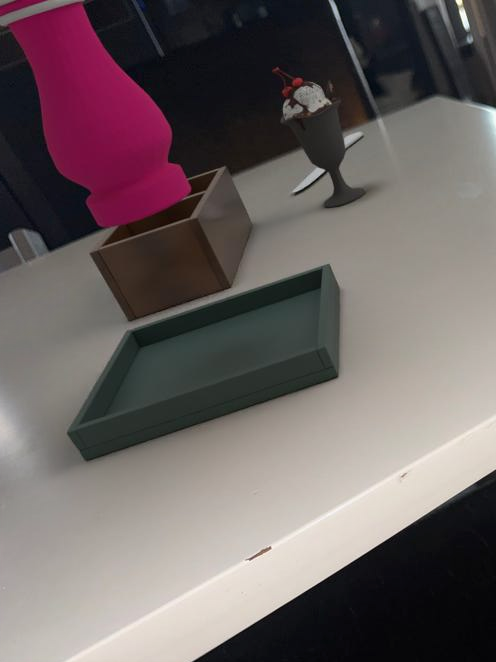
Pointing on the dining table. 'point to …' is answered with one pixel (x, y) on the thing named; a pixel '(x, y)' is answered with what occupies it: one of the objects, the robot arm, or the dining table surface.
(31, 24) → the pepper mill
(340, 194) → the sundae
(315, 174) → the butter knife
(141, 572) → the dining table surface
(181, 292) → the divided box
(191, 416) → the tray
